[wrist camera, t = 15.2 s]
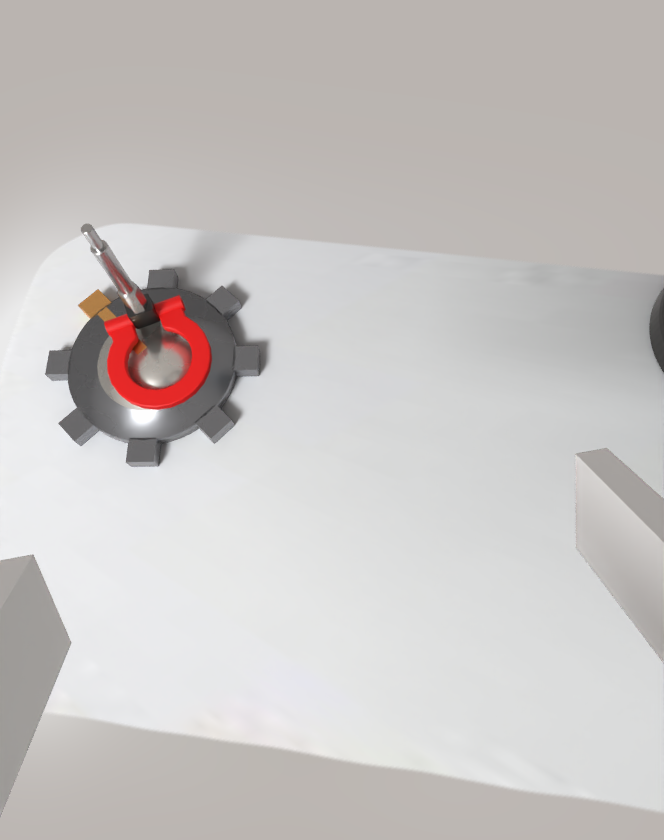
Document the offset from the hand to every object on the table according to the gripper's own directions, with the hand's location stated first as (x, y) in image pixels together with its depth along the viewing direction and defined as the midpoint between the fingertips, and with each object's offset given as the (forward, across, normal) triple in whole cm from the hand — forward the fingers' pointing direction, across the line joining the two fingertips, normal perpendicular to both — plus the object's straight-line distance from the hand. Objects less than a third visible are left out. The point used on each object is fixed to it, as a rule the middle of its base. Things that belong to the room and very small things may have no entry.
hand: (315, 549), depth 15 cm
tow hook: (+38, -12, -5) cm, 40 cm away
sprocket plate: (+39, -12, -6) cm, 41 cm away
